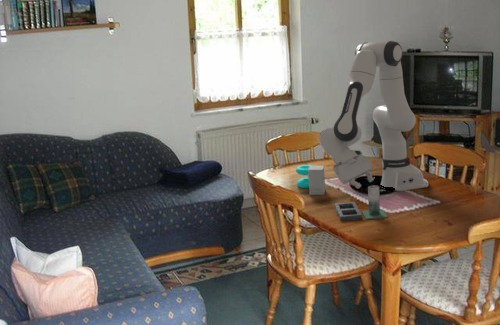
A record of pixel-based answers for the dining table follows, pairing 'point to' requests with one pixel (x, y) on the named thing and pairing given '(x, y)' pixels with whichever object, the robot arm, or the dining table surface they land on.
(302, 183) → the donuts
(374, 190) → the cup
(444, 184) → the dining table surface
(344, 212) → the grey double frame
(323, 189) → the supplement box
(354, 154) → the robot arm
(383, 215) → the mat
